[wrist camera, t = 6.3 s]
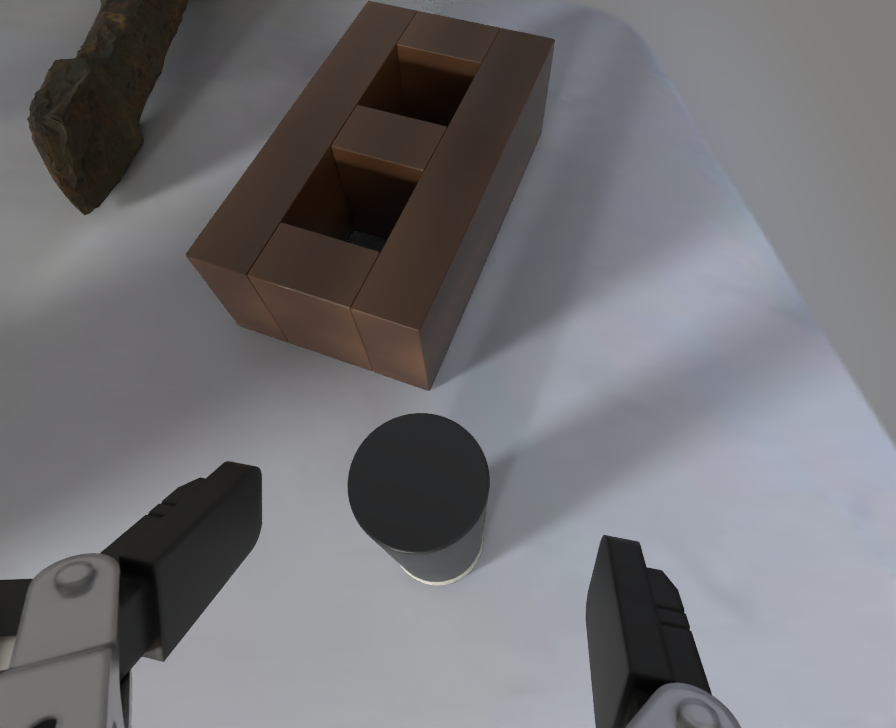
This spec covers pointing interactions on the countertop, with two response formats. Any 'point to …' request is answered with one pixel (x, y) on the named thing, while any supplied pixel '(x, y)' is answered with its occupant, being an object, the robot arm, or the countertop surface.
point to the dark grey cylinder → (422, 495)
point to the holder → (382, 191)
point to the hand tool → (102, 98)
